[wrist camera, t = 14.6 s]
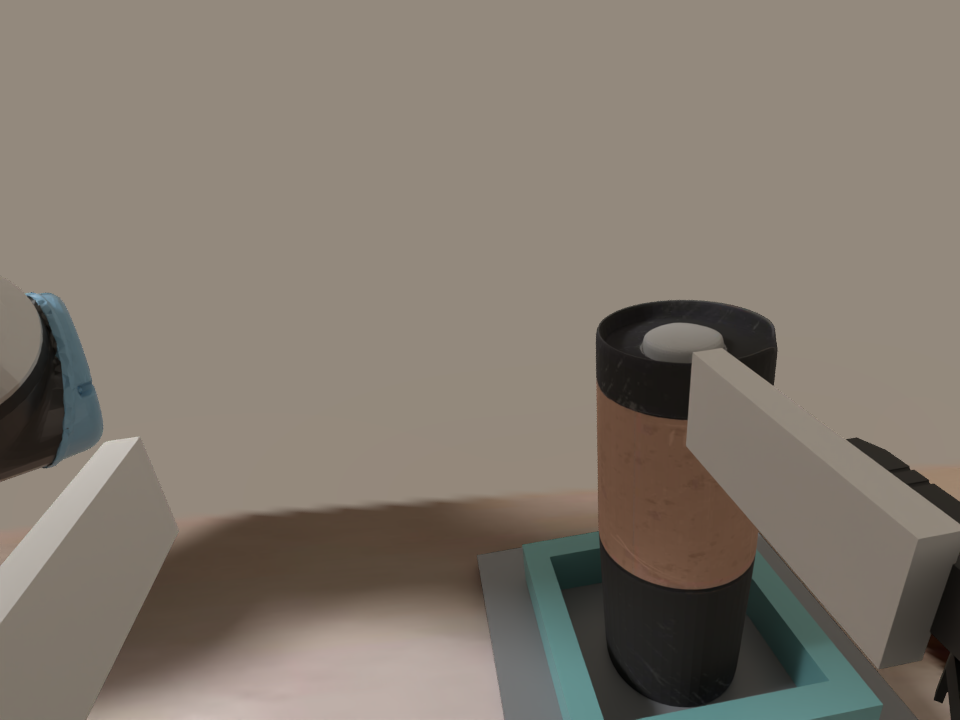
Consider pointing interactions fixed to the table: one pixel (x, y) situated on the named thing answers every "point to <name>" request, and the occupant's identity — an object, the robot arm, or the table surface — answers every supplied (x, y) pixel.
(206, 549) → the table surface
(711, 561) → the travel mug
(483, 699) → the table surface
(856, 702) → the mug dock
